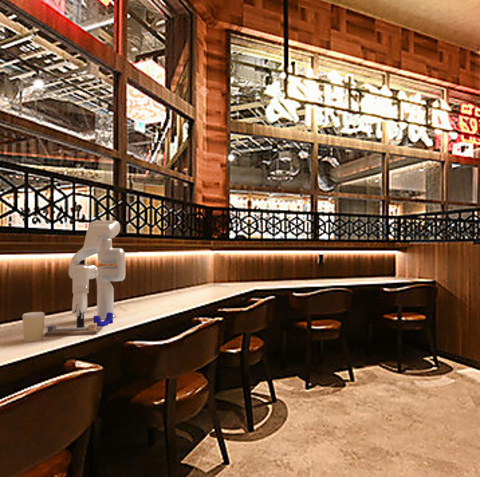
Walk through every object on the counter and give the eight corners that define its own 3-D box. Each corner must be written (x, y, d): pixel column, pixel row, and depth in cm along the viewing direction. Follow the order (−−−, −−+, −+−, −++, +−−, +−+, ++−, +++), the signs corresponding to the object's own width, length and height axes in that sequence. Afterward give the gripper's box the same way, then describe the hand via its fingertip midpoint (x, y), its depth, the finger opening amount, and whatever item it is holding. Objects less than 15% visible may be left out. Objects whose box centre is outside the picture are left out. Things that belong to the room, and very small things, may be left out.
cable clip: (100, 327, 197) (100, 316, 198) (93, 327, 199) (93, 316, 199) (115, 323, 209) (115, 312, 209) (108, 322, 210) (108, 312, 210)
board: (53, 330, 190) (53, 323, 190) (102, 329, 193) (102, 321, 193) (44, 336, 178) (44, 328, 178) (96, 334, 181) (96, 326, 181)
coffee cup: (48, 336, 178) (48, 311, 178) (38, 341, 168) (38, 315, 169) (28, 336, 177) (29, 311, 178) (17, 341, 168) (17, 315, 168)
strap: (54, 331, 182) (54, 328, 182) (57, 329, 187) (57, 326, 187) (87, 329, 184) (87, 326, 184) (89, 327, 189) (89, 324, 189)
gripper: (77, 288, 193) (77, 324, 192) (67, 291, 178) (67, 329, 178) (92, 288, 194) (92, 323, 193) (84, 291, 179) (83, 329, 179)
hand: (80, 326), depth 185 cm, fingers closed
